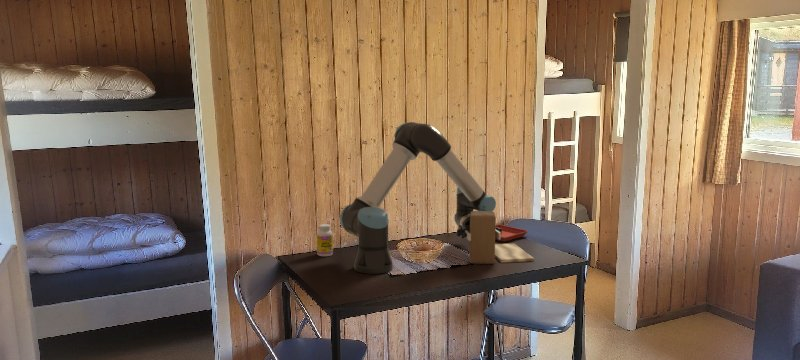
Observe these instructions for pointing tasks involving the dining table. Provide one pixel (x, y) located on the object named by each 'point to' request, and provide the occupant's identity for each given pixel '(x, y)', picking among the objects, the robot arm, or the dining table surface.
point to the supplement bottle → (324, 240)
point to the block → (482, 237)
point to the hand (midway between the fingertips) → (484, 236)
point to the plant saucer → (510, 233)
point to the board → (511, 253)
